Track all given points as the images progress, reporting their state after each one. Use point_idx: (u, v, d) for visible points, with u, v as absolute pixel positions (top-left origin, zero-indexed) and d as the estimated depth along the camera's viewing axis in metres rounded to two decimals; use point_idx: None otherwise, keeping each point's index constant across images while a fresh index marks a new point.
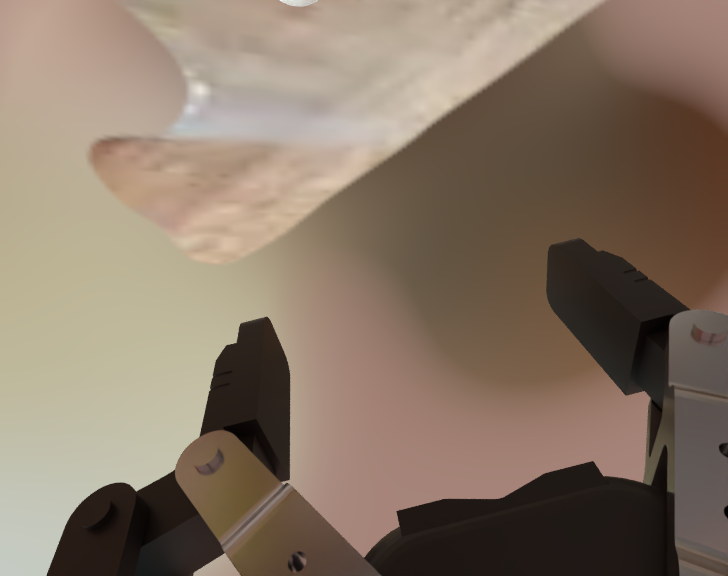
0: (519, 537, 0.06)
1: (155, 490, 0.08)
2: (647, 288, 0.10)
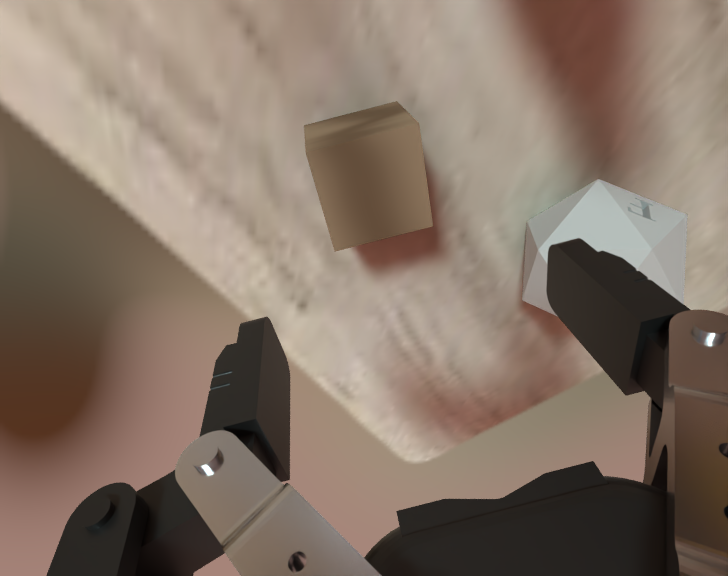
0: (519, 537, 0.06)
1: (155, 490, 0.08)
2: (647, 288, 0.10)
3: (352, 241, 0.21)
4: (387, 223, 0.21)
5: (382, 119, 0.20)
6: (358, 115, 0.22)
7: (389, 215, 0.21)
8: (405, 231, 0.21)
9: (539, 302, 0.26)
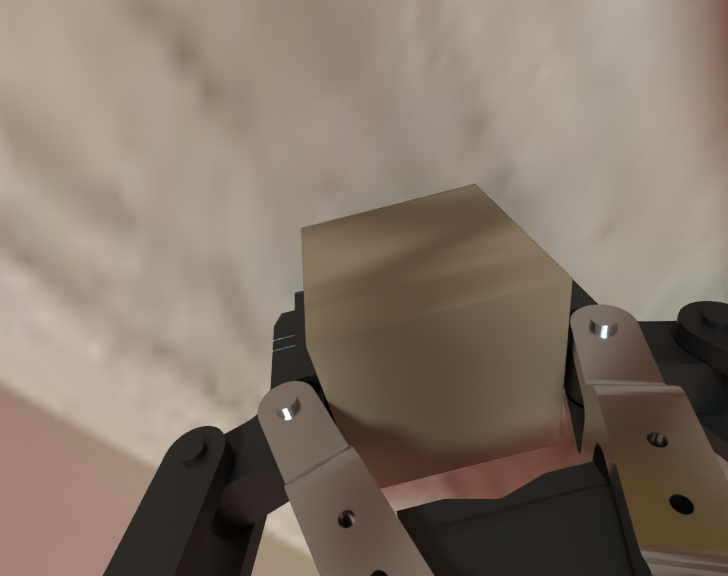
0: (519, 537, 0.06)
1: (236, 435, 0.09)
2: None
3: (398, 476, 0.10)
4: (471, 446, 0.10)
5: (466, 242, 0.10)
6: (407, 217, 0.11)
7: (478, 434, 0.10)
8: (504, 454, 0.11)
9: None
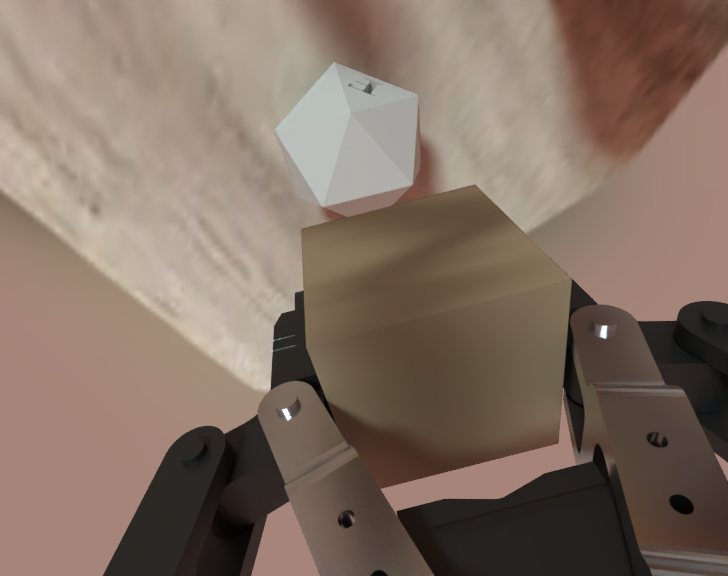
0: (519, 537, 0.06)
1: (236, 435, 0.09)
2: None
3: (398, 477, 0.10)
4: (471, 446, 0.10)
5: (466, 242, 0.10)
6: (407, 217, 0.11)
7: (477, 434, 0.10)
8: (504, 454, 0.11)
9: (301, 193, 0.26)
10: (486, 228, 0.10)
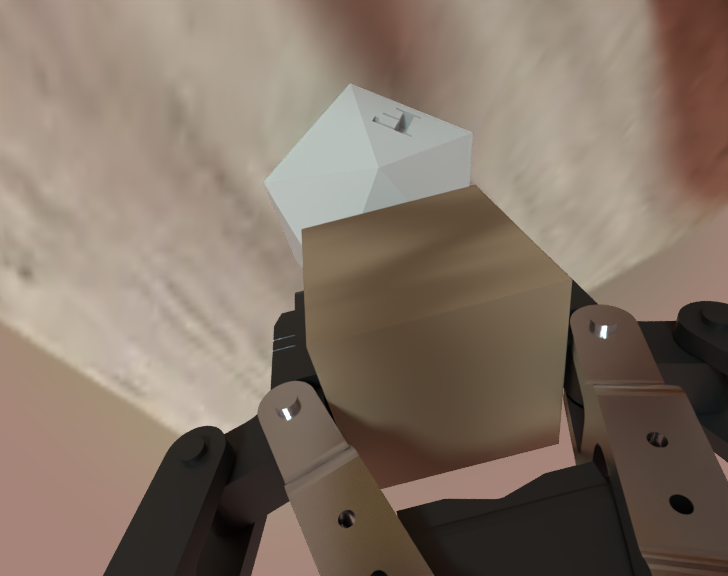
0: (519, 537, 0.06)
1: (236, 436, 0.09)
2: None
3: (399, 477, 0.10)
4: (471, 446, 0.10)
5: (466, 243, 0.10)
6: (407, 218, 0.11)
7: (478, 435, 0.10)
8: (504, 455, 0.11)
9: (302, 262, 0.19)
10: (486, 228, 0.10)
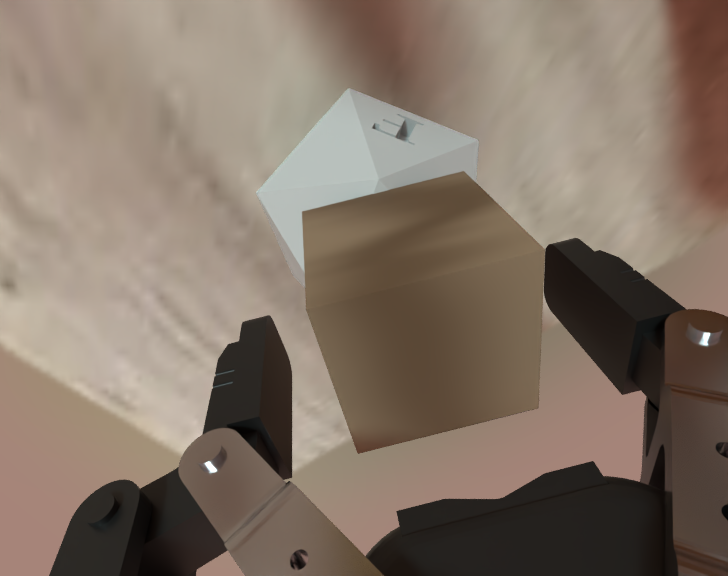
0: (519, 537, 0.06)
1: (159, 487, 0.08)
2: (643, 288, 0.10)
3: (391, 438, 0.11)
4: (457, 409, 0.11)
5: (452, 221, 0.10)
6: (400, 200, 0.12)
7: (463, 398, 0.11)
8: (488, 418, 0.11)
9: (297, 276, 0.18)
10: (471, 208, 0.11)
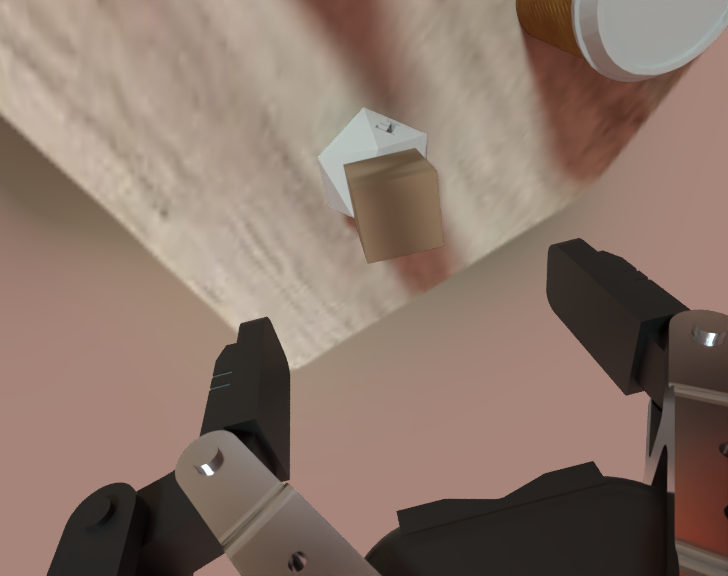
0: (519, 537, 0.06)
1: (155, 490, 0.08)
2: (647, 288, 0.10)
3: (381, 256, 0.27)
4: (409, 243, 0.27)
5: (407, 164, 0.26)
6: (386, 159, 0.28)
7: (411, 237, 0.27)
8: (422, 249, 0.27)
9: (333, 205, 0.34)
10: (415, 160, 0.27)
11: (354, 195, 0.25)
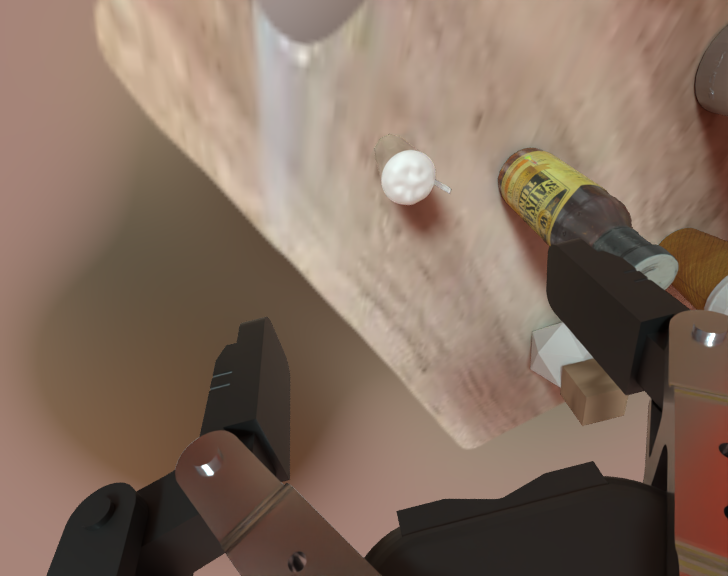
0: (519, 537, 0.06)
1: (155, 490, 0.08)
2: (647, 288, 0.10)
3: (590, 422, 0.50)
4: (606, 415, 0.50)
5: (607, 375, 0.49)
6: (590, 365, 0.51)
7: (608, 413, 0.49)
8: (612, 417, 0.50)
9: (538, 371, 0.56)
10: None
11: (586, 399, 0.47)
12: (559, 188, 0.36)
